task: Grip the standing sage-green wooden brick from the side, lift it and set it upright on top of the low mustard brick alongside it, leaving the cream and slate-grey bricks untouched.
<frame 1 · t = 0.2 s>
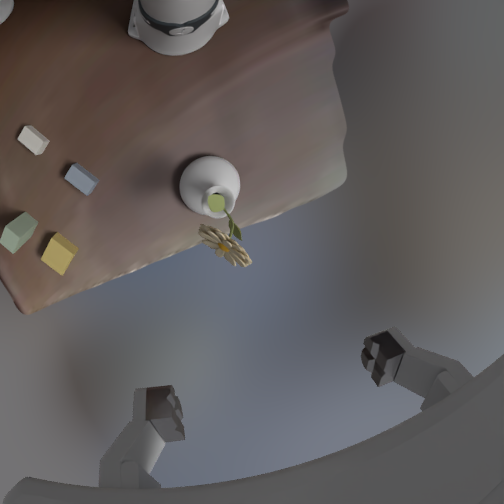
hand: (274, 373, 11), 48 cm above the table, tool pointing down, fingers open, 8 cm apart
green brick: (28, 224, 48), on the table
cream brick: (36, 139, 42), on the table
slate brick: (84, 177, 48), on the table
flower in vase: (210, 188, 55), on the table
vase: (1, 12, 25), on the table
mustard brick: (62, 250, 52), on the table
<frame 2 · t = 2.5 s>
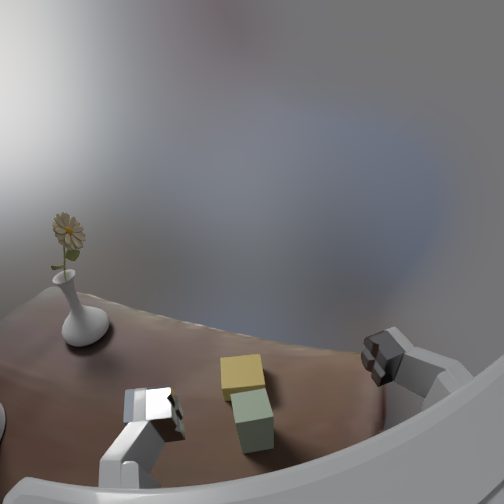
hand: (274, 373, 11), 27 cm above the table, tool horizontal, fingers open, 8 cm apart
green brick: (255, 438, 33), on the table
slate brick: (140, 415, 36), on the table
flower in vase: (90, 331, 53), on the table
mustard brick: (243, 384, 41), on the table
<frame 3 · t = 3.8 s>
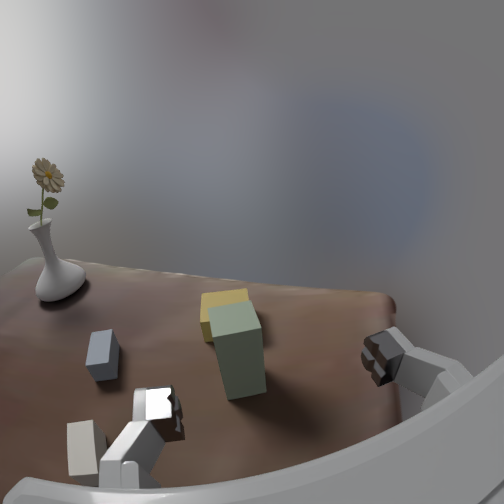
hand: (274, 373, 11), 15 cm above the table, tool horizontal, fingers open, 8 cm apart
green brick: (243, 382, 29), on the table
cream brick: (95, 460, 19), on the table
slate brick: (108, 363, 31), on the table
flower in vase: (66, 289, 48), on the table
mustard brick: (228, 325, 37), on the table
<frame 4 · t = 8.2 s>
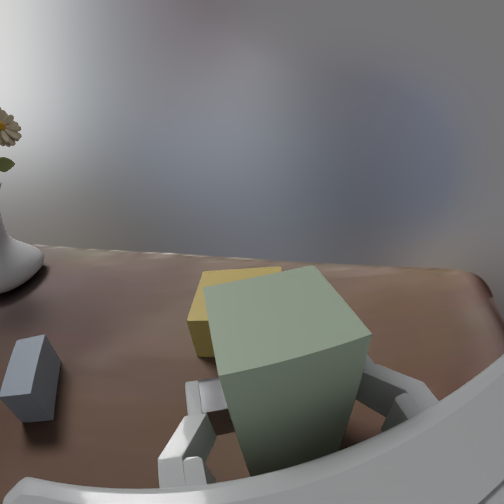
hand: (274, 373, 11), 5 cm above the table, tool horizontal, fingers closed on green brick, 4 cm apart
green brick: (283, 443, 12), on the table, touching gripper
slate brick: (42, 392, 15), on the table
flower in vase: (21, 279, 32), on the table
mustard brick: (244, 329, 21), on the table
when the fingers open (9 cm above the table, at t = 12.4 s): green brick drops 1 cm, resting on mustard brick.
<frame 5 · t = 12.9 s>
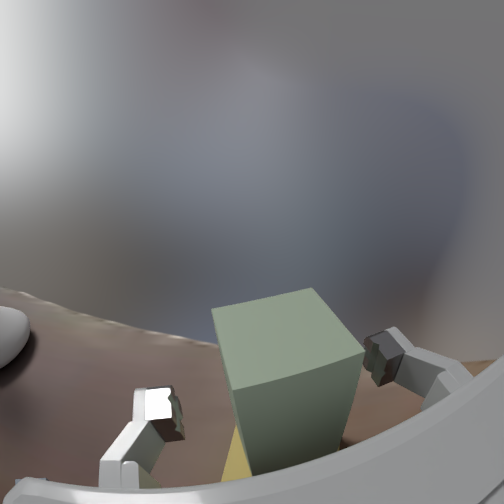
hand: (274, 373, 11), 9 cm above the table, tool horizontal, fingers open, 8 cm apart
green brick: (282, 451, 13), point 3 cm above the table, touching mustard brick
flower in vase: (7, 347, 25), on the table
mustard brick: (284, 471, 14), on the table, touching green brick
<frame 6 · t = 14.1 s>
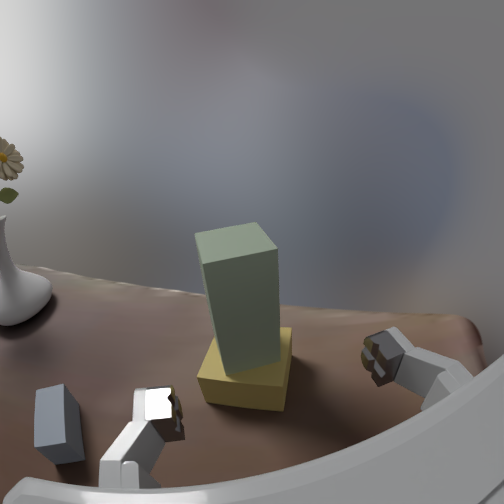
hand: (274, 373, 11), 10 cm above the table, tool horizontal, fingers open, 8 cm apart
green brick: (246, 349, 21), point 3 cm above the table, touching mustard brick
slate brick: (67, 434, 16), on the table
flower in vase: (30, 307, 33), on the table
mustard brick: (251, 380, 22), on the table, touching green brick
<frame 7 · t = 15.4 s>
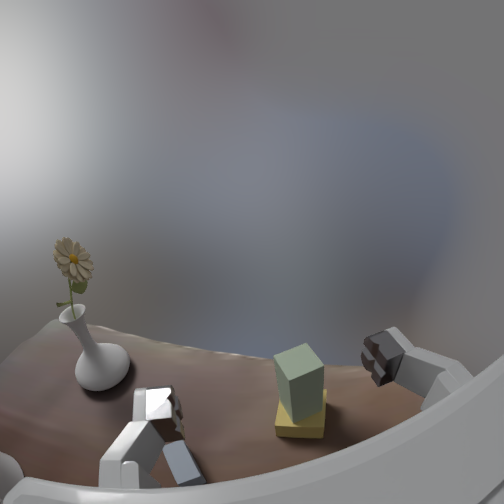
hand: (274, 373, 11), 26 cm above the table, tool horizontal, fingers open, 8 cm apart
green brick: (300, 405, 33), point 3 cm above the table
slate brick: (187, 469, 28), on the table
flower in vase: (108, 370, 45), on the table
mustard brick: (302, 420, 34), on the table
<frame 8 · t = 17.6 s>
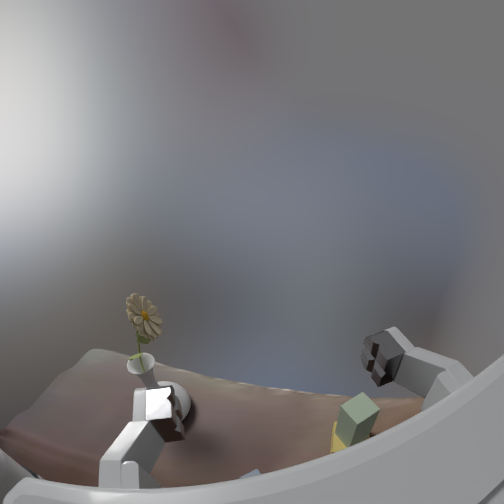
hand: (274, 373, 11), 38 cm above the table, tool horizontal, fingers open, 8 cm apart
green brick: (351, 435, 38), point 3 cm above the table, touching mustard brick
slate brick: (260, 491, 33), on the table
flower in vase: (166, 406, 50), on the table
mustard brick: (348, 445, 39), on the table, touching green brick
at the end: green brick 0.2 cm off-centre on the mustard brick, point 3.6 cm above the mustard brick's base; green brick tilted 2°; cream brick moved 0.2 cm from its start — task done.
